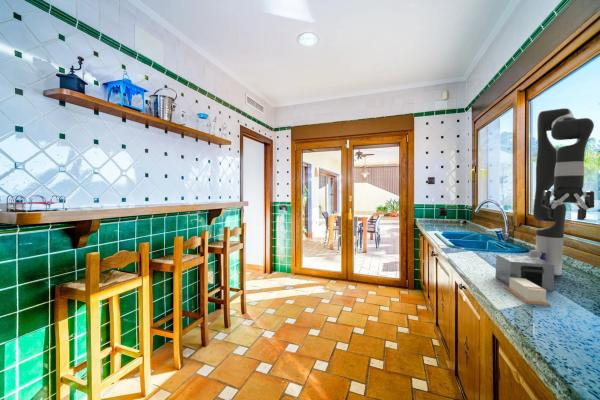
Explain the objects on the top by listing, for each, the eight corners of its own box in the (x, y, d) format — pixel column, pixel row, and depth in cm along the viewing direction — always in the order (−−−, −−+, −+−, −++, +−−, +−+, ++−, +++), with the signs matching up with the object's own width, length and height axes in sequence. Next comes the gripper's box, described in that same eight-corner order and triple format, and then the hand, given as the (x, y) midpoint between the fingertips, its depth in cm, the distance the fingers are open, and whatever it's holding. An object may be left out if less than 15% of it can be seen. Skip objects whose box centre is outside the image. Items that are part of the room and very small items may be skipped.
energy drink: (548, 280, 110) (549, 252, 110) (533, 279, 111) (535, 252, 111) (539, 276, 116) (540, 250, 115) (525, 275, 117) (526, 249, 116)
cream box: (509, 287, 100) (509, 276, 100) (524, 288, 99) (524, 278, 98) (528, 300, 88) (528, 288, 88) (545, 302, 87) (546, 290, 87)
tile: (505, 288, 101) (505, 286, 101) (526, 290, 99) (526, 288, 99) (525, 303, 88) (525, 300, 88) (550, 305, 86) (550, 303, 86)
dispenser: (495, 276, 114) (496, 254, 114) (534, 280, 110) (535, 256, 110) (510, 287, 102) (511, 262, 101) (554, 291, 98) (555, 265, 98)
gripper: (585, 175, 95) (582, 219, 96) (538, 175, 99) (536, 217, 100) (602, 174, 88) (599, 221, 89) (551, 174, 92) (549, 219, 93)
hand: (566, 219), depth 94 cm, fingers open, 8 cm apart
